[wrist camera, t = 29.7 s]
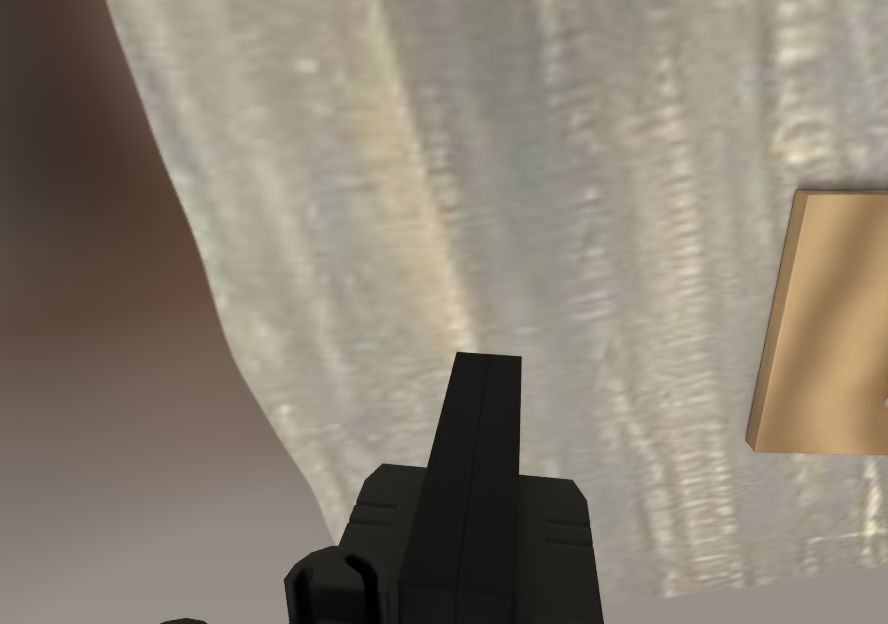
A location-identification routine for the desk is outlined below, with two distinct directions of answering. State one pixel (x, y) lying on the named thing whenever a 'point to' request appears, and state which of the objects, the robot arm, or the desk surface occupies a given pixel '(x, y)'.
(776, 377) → the board
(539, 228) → the desk surface
